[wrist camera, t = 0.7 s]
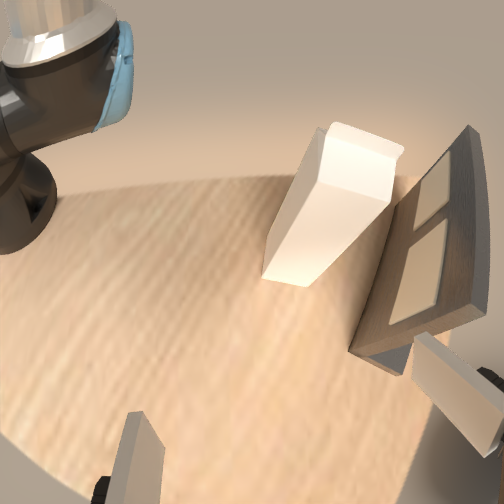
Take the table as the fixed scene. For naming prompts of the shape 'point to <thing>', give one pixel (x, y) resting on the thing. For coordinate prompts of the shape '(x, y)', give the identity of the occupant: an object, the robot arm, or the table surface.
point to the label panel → (431, 259)
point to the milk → (329, 202)
